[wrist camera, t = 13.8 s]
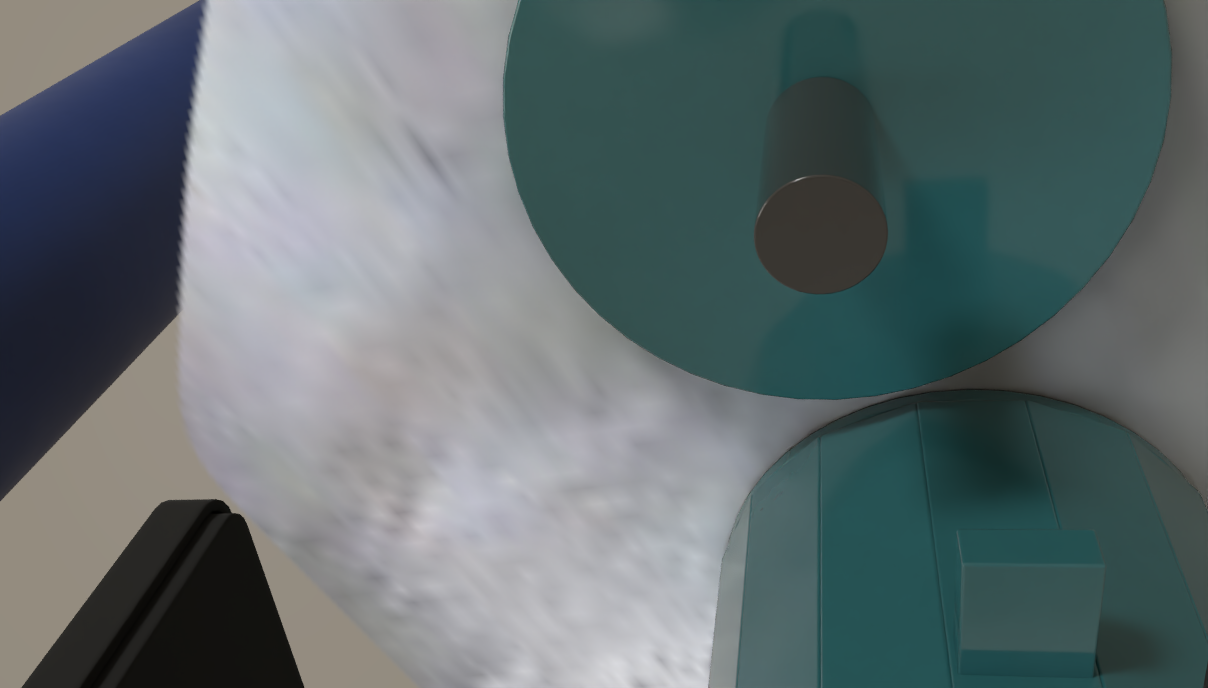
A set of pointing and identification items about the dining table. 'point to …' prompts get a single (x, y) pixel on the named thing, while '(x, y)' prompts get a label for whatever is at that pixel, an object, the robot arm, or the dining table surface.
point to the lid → (833, 173)
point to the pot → (966, 555)
